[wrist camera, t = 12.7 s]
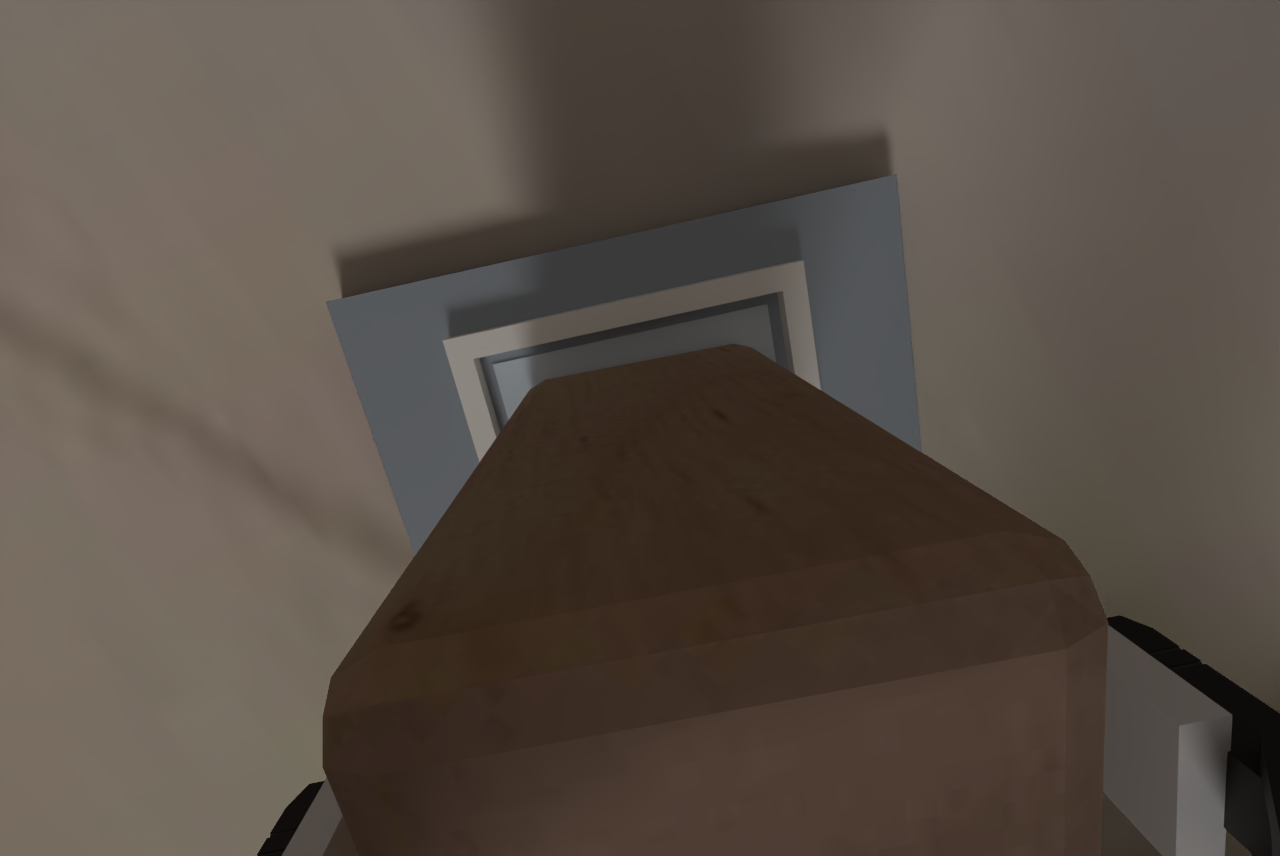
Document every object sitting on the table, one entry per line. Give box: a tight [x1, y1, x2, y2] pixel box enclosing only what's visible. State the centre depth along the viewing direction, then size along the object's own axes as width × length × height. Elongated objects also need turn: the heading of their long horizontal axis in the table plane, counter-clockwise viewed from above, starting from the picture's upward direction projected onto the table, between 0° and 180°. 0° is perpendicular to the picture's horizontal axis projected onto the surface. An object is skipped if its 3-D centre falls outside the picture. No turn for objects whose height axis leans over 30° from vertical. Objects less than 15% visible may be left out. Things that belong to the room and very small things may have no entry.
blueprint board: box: [326, 174, 922, 555], centre depth 27 cm, size 24×20×2 cm
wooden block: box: [323, 344, 1108, 856], centre depth 17 cm, size 10×10×20 cm
